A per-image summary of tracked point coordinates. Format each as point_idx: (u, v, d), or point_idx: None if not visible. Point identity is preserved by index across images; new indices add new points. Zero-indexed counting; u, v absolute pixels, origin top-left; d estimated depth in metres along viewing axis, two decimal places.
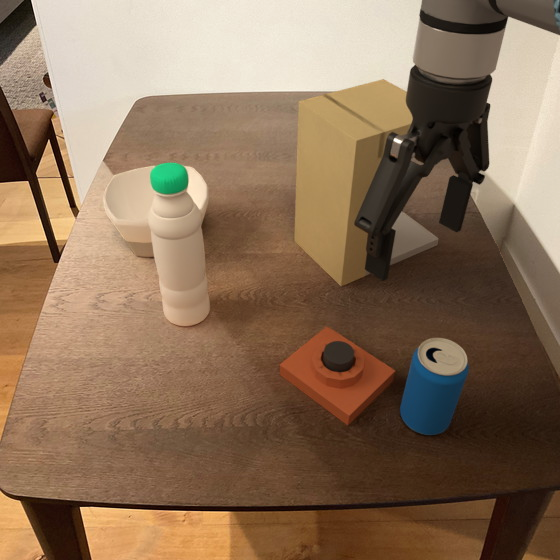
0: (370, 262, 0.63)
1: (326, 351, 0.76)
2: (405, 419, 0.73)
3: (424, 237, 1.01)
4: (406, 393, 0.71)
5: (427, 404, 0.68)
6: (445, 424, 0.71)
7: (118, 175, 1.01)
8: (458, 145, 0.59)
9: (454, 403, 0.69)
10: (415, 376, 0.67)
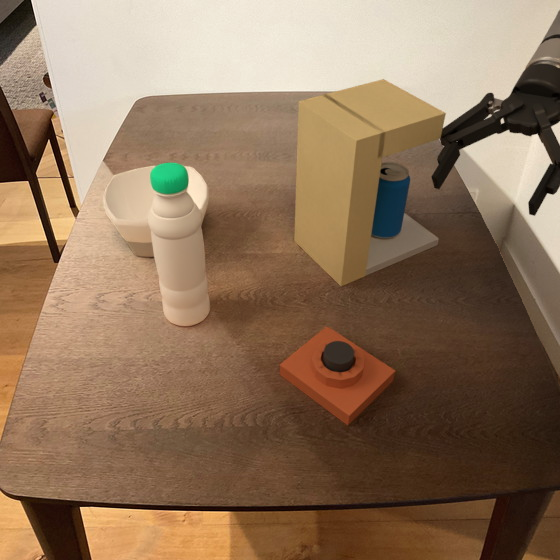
0: None
1: (326, 351, 0.76)
2: None
3: (424, 237, 1.01)
4: None
5: (381, 208, 0.96)
6: (395, 228, 0.99)
7: (118, 175, 1.01)
8: (535, 116, 0.79)
9: (401, 208, 0.96)
10: None
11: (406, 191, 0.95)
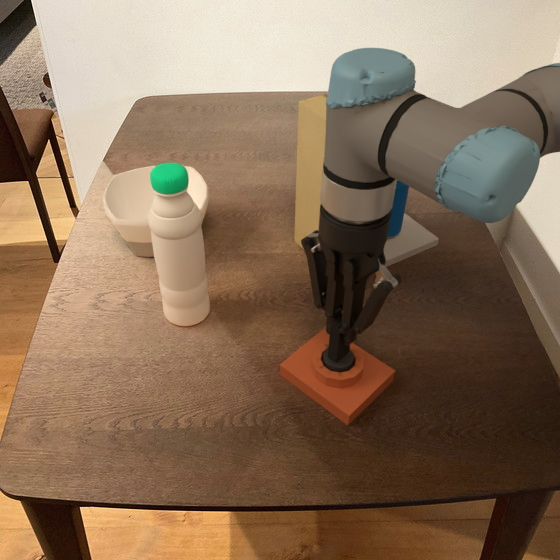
0: None
1: (326, 355, 0.76)
2: None
3: (424, 237, 1.01)
4: None
5: None
6: (395, 228, 0.99)
7: (118, 175, 1.01)
8: (345, 271, 0.64)
9: (401, 208, 0.96)
10: None
11: (406, 191, 0.95)
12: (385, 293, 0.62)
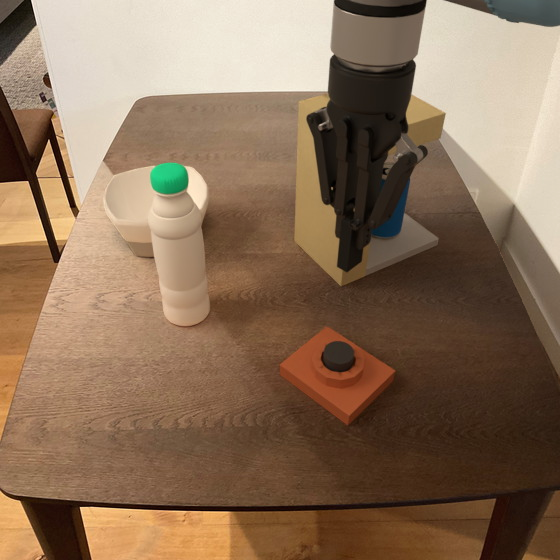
0: None
1: (326, 351, 0.76)
2: None
3: (424, 237, 1.01)
4: None
5: None
6: (395, 228, 0.99)
7: (118, 175, 1.01)
8: (359, 145, 0.54)
9: (401, 208, 0.96)
10: None
11: (406, 191, 0.95)
12: (408, 166, 0.52)
